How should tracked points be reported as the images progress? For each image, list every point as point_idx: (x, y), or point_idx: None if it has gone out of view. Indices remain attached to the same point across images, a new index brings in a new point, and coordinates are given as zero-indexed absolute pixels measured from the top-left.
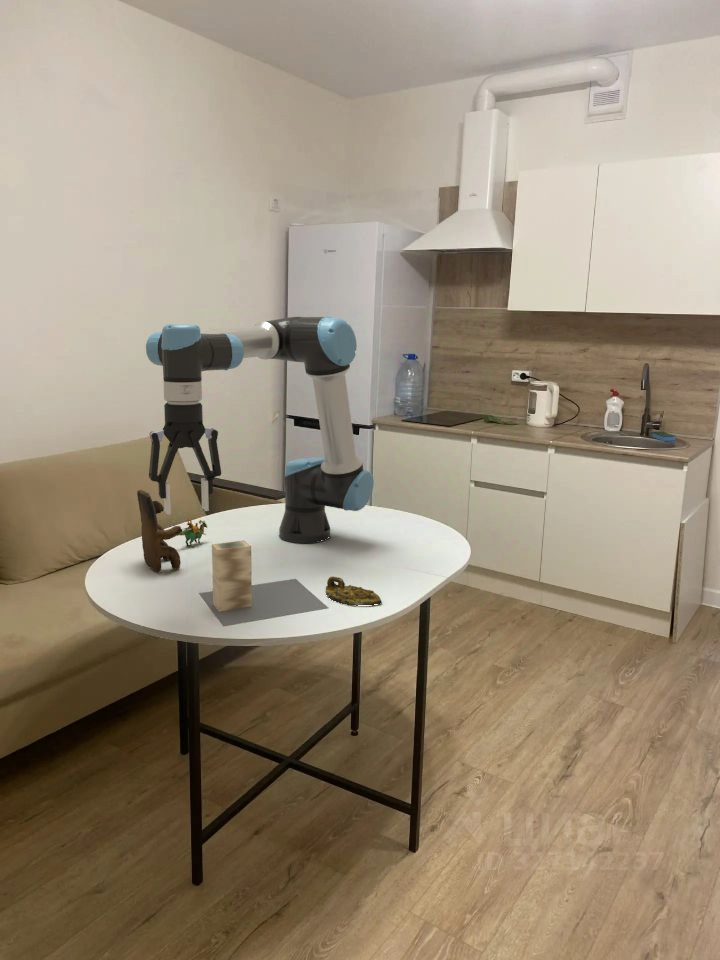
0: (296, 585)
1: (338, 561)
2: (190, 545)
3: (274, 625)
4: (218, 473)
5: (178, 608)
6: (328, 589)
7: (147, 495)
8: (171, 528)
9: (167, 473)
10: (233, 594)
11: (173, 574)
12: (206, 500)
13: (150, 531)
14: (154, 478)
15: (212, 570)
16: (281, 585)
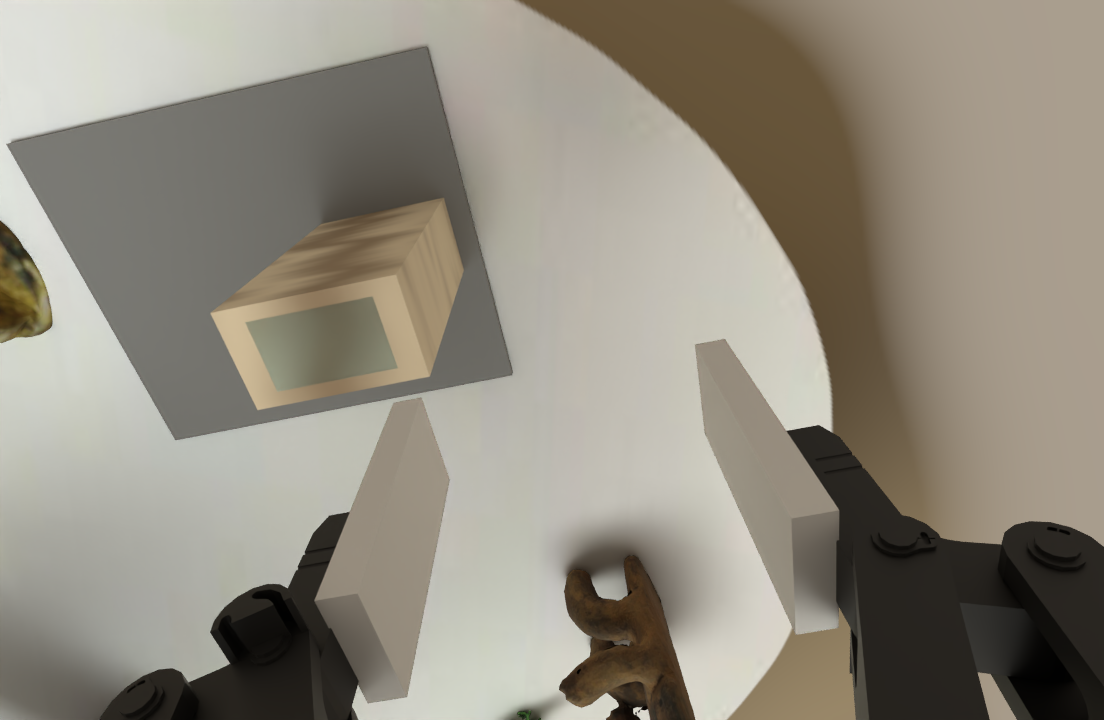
0: (166, 381)
1: (41, 564)
2: (528, 717)
3: (223, 28)
4: (139, 698)
5: (585, 270)
6: (26, 308)
7: None
8: (601, 690)
9: (884, 634)
10: (375, 223)
11: (587, 540)
12: (391, 450)
13: (679, 678)
14: (1053, 546)
15: (447, 318)
16: (222, 391)
